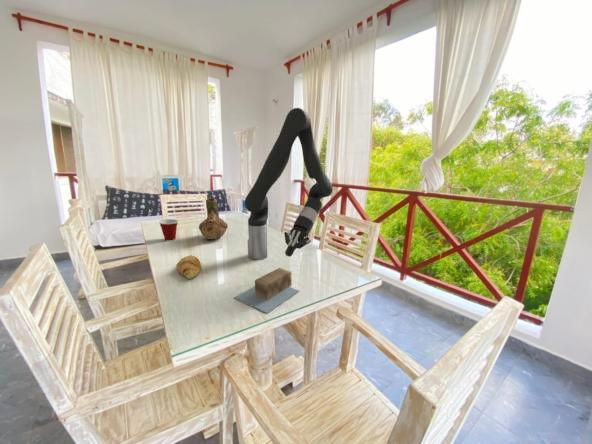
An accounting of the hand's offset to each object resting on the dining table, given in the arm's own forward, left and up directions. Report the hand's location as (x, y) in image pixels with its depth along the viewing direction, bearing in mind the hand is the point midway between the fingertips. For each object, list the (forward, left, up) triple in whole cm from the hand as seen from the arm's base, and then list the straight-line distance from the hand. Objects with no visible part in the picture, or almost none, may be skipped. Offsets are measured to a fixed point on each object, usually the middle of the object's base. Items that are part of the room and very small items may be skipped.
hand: (287, 255), depth 102 cm
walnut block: (-1, -1, -8) cm, 9 cm away
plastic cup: (-80, +46, -12) cm, 93 cm away
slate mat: (-6, -11, -12) cm, 17 cm away
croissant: (-46, +5, -12) cm, 48 cm away
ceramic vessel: (-54, +51, -12) cm, 76 cm away
